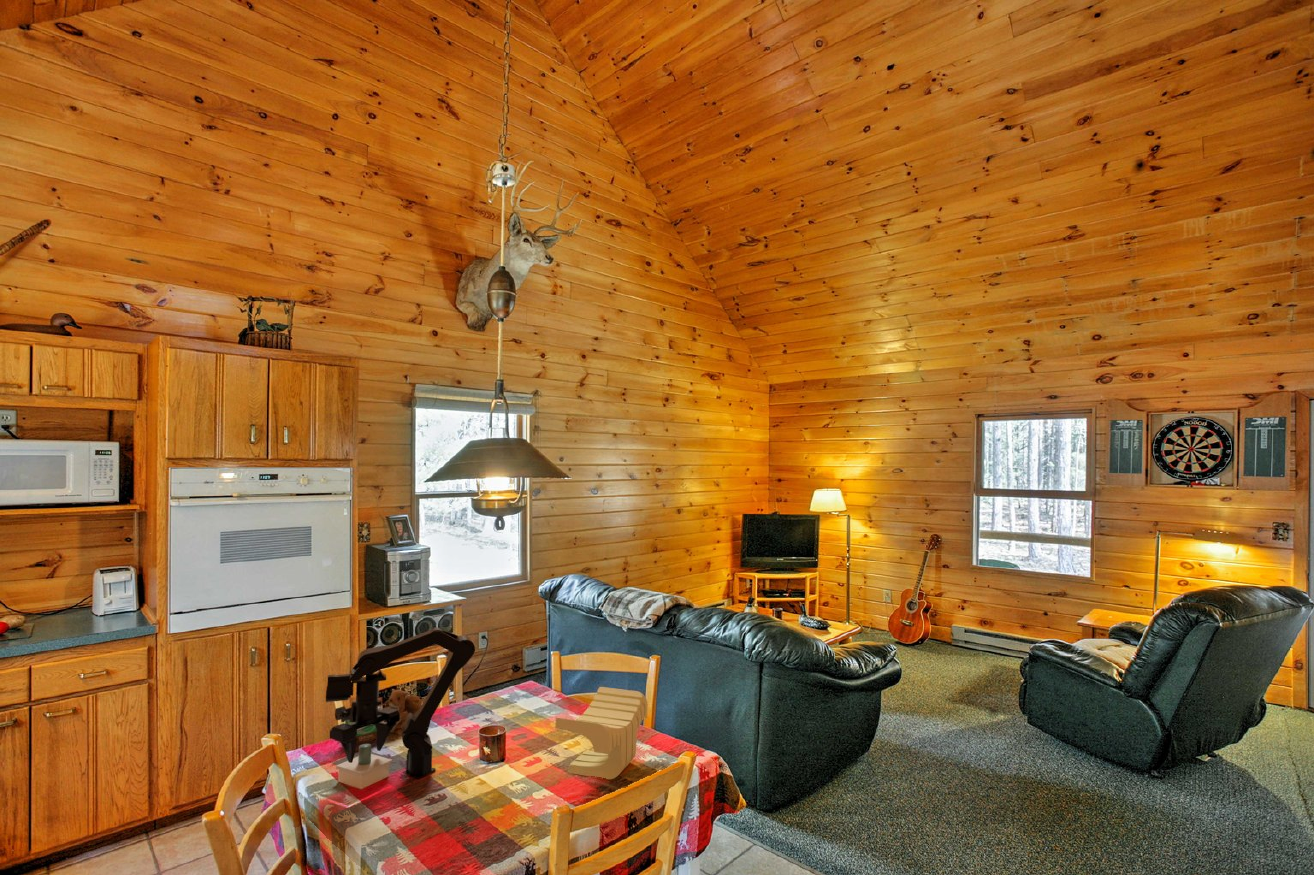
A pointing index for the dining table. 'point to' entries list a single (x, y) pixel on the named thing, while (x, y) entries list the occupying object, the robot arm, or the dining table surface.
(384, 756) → the mat
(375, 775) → the dish
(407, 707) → the stuffed squirrel
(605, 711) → the slatted curved stool
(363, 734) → the food container
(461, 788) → the dining table surface
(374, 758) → the lid
